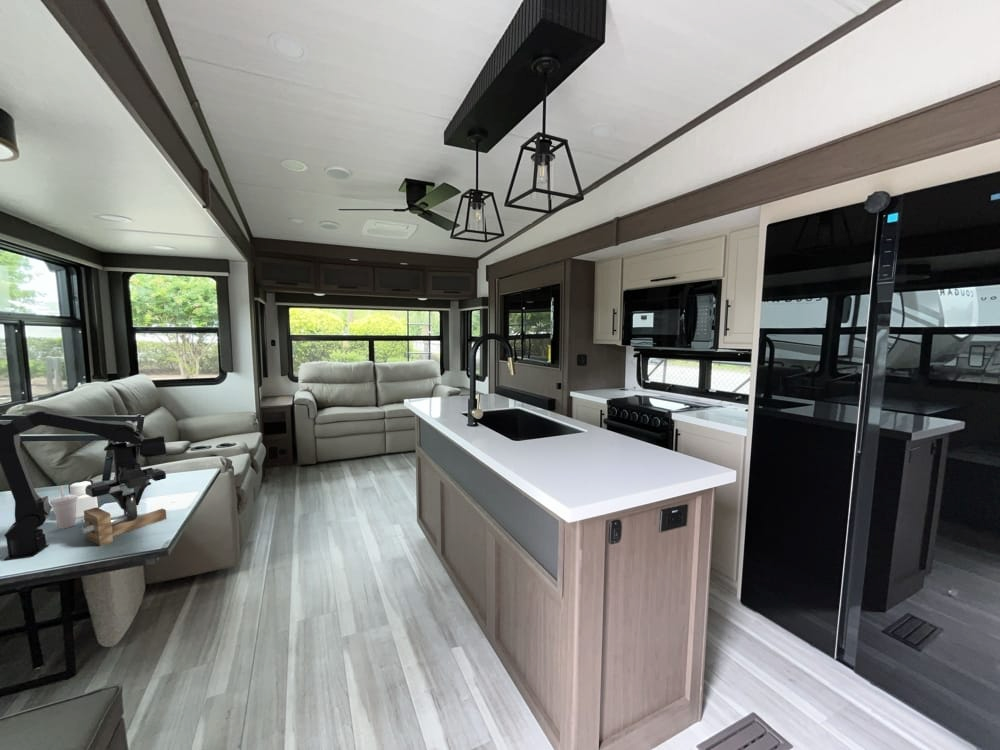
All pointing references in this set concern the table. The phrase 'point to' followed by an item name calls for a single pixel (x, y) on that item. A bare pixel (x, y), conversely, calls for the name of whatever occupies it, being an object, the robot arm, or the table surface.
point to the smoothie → (65, 509)
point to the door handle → (129, 512)
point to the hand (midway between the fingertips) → (130, 507)
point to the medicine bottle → (82, 497)
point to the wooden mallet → (106, 531)
